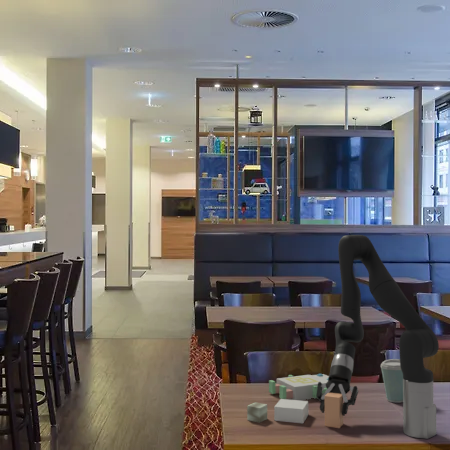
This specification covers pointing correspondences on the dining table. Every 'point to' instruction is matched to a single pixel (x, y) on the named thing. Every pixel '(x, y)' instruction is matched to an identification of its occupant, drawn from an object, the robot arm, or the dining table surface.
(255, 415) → the sage cube
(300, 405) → the grey base block
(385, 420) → the dining table surface
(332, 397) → the terracotta block
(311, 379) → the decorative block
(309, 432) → the dining table surface
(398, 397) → the disposable coffee cup
